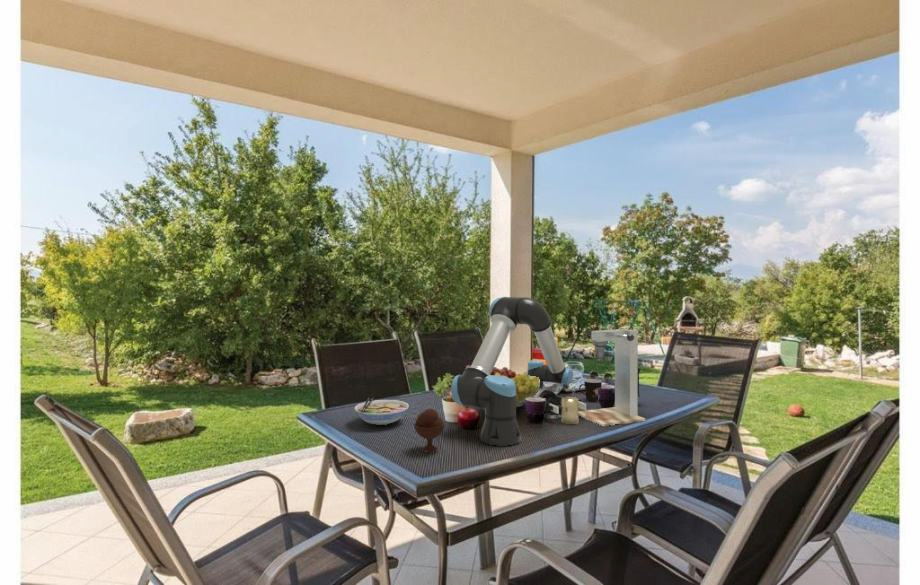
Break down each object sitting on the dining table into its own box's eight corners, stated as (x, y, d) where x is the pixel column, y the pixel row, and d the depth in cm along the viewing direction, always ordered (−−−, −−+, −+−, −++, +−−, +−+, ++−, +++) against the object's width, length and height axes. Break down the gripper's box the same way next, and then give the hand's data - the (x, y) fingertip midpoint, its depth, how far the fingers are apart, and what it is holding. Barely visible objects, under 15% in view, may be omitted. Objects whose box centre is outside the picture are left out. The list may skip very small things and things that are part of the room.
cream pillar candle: (567, 425, 192) (567, 401, 192) (558, 420, 199) (558, 397, 199) (581, 423, 195) (581, 399, 195) (572, 419, 201) (572, 396, 201)
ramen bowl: (405, 432, 184) (405, 412, 184) (348, 433, 184) (347, 412, 184) (411, 415, 209) (411, 397, 209) (361, 415, 209) (360, 397, 209)
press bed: (602, 426, 191) (602, 423, 191) (574, 414, 209) (574, 411, 209) (645, 420, 198) (645, 418, 198) (615, 409, 217) (615, 406, 217)
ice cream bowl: (451, 449, 165) (451, 407, 165) (429, 458, 157) (428, 413, 157) (430, 442, 172) (430, 402, 172) (407, 450, 164) (407, 408, 164)
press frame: (611, 424, 190) (611, 334, 190) (587, 413, 206) (587, 330, 205) (648, 419, 197) (648, 332, 196) (622, 409, 212) (622, 328, 212)
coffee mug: (600, 398, 237) (600, 379, 237) (603, 403, 229) (603, 382, 228) (576, 398, 238) (576, 378, 238) (579, 402, 230) (579, 382, 230)
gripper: (568, 403, 220) (596, 414, 201) (521, 408, 212) (546, 420, 192) (568, 387, 220) (596, 397, 200) (521, 391, 212) (546, 402, 192)
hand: (571, 408), depth 196 cm, fingers open, 13 cm apart
